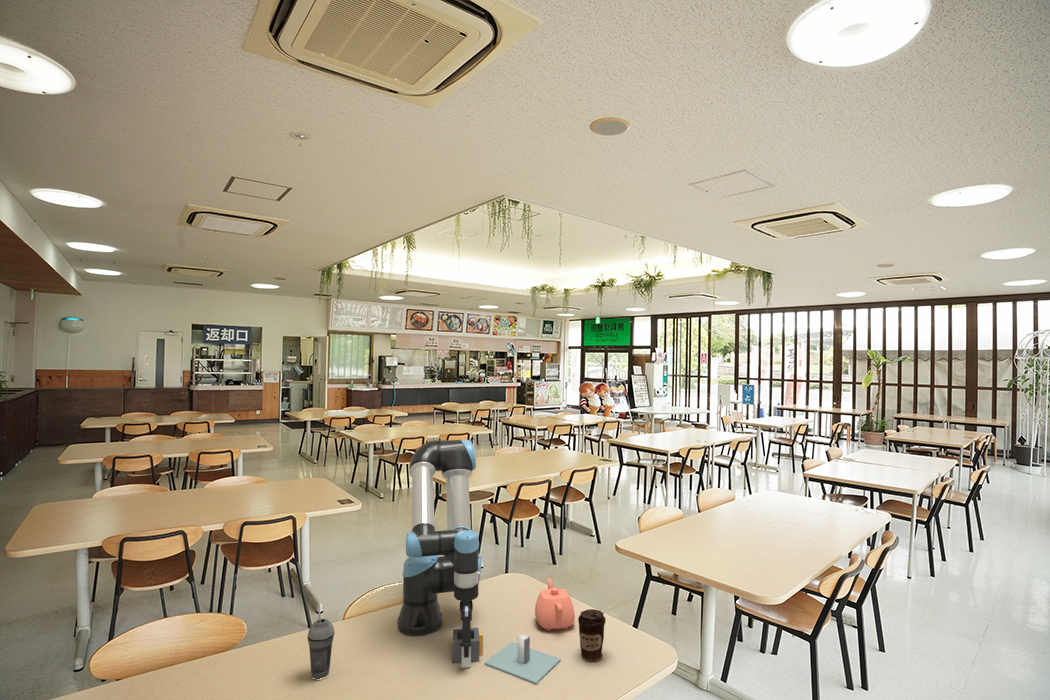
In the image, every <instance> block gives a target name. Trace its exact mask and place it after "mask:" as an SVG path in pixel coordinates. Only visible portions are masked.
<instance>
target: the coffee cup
mask: <svg viewBox="0 0 1050 700" xmlns="http://www.w3.org/2000/svg"><path fill="white" fill-rule="evenodd" d="M577 620H578V621H577V622H578V631H579V632H578V633H579V645H580V646H579V647H580V654H581V658H582V659H583V660H585V661H587V662H591V663H592V662H593V663H594V662H599V661H601V660H603V652H602V651H603V645H604V641H605V640H604V638H605V624H606V617H605V616H604V612H603V611H601V610H599V609H594V608H592V609H591V608H590V609H585V610H583V611H581V612H580V614H579V615H578V619H577Z"/></svg>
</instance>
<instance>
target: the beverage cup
mask: <svg viewBox="0 0 1050 700" xmlns="http://www.w3.org/2000/svg"><path fill="white" fill-rule="evenodd" d="M317 610H318V612H317V613H318V619H317V620H316V621H314V622H313V623H312V624H311V625H310V627H309V629H308V633H307V638H306V639H307V642H308V646H309V647H308V648H309V657H310V658H309V660H310V661H309V662H310V672H311V678H312V677H313V678H315V679H320V678H323V677H326V676H327V675H328V674H329V675H330V668H331V659H332V657H331V656H332V648H333V641H334V636H335V630H334V626H333V623H332V622H331V621H330V620H328V619H327V618H326V619H325V618H322V617H321V603H317ZM329 675H328V676H329Z"/></svg>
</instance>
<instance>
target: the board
mask: <svg viewBox="0 0 1050 700" xmlns="http://www.w3.org/2000/svg"><path fill="white" fill-rule="evenodd" d="M530 638H531V637H530V636H529V635H527V634H525V633H520V634H518V635H517V643H516V642H513V641H510V642H509V643H508V644H506V645H505V646H504V647H502V648H501V649H500V650H499V651H497V652H496V653H495V654H494V655H492V656H491V657H490V658H489V659H487V660H486V661H484V665H485V666H487V667H490V668H492V669H495V670H497V671H501V672H503V673H506V674H508V675H511V676H513V677H515V678H517V679H520V680H523V681H526V682H528V683H531V684H534V685H538V684H539V683H540V682H541V681H542V680H543V679H544V678H545V676H547V675H548V674H549V673H550V672H551V671H552V670H553V669H554V668H555V667H556V666H557V665H558V664H559V663H560V662H561V661H562V660H561V658H559V657H556V656H553V655H552V654H551V655H550V654H547V653H544V652H542V651H540V650H536V649H534V648H531V647H530V644H531V641H530V640H531V639H530Z"/></svg>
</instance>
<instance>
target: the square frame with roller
mask: <svg viewBox="0 0 1050 700" xmlns="http://www.w3.org/2000/svg"><path fill="white" fill-rule="evenodd" d="M479 630H480V629H479V627H471V663H475V662H480V656H483V655H484V633H483V632H480V631H479ZM460 643H462V629H461V628H454V629H452V664H458V663H461V664H462V646H460Z"/></svg>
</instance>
